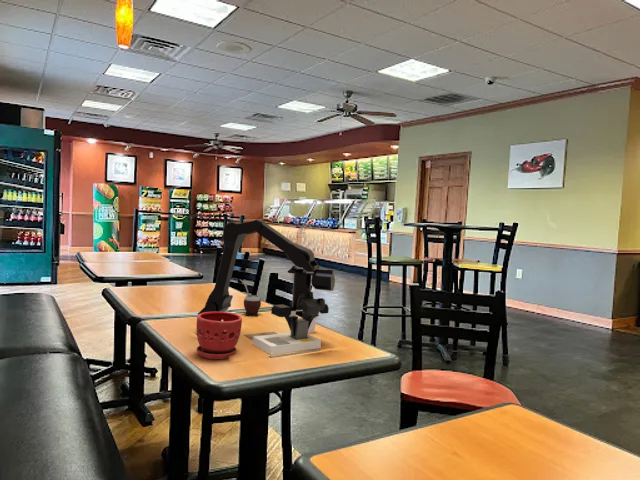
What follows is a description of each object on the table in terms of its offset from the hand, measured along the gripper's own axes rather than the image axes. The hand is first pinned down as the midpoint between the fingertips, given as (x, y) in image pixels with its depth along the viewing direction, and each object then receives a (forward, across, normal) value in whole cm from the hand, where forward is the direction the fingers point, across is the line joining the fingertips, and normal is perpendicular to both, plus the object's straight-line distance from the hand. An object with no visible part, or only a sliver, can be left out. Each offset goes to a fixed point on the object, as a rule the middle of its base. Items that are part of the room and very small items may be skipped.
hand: (299, 335), depth 153 cm
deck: (+4, -6, +13) cm, 15 cm away
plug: (+2, 0, 0) cm, 2 cm away
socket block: (+4, -4, 0) cm, 6 cm away
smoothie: (+4, +12, +13) cm, 19 cm away
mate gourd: (+4, +6, +48) cm, 49 cm away
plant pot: (+4, -26, +3) cm, 27 cm away
